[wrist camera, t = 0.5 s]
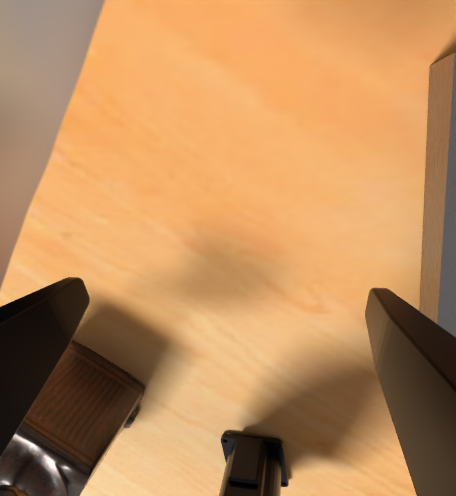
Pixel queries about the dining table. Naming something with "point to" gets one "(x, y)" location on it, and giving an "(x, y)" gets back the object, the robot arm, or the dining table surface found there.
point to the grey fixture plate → (440, 199)
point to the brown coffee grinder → (69, 426)
